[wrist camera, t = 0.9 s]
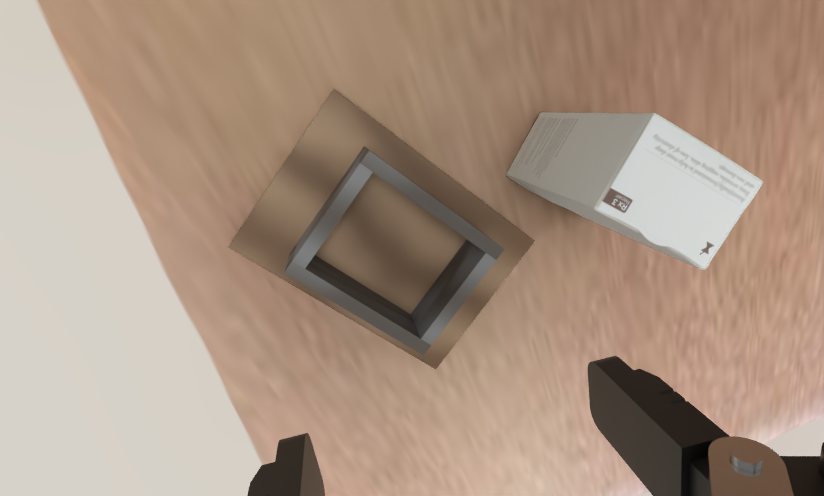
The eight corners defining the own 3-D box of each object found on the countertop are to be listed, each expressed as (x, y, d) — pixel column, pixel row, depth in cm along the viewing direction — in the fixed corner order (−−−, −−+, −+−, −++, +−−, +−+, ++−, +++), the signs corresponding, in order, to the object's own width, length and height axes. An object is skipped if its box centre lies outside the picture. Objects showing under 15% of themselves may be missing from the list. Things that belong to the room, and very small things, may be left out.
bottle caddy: (333, 89, 34) (334, 84, 28) (529, 237, 40) (560, 256, 34) (230, 243, 35) (213, 265, 30) (433, 363, 41) (448, 399, 36)
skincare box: (614, 156, 39) (776, 179, 25) (577, 219, 40) (712, 276, 26) (534, 108, 37) (662, 104, 23) (497, 177, 38) (598, 213, 24)
